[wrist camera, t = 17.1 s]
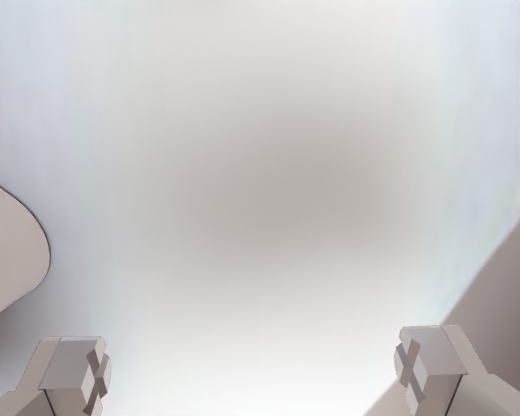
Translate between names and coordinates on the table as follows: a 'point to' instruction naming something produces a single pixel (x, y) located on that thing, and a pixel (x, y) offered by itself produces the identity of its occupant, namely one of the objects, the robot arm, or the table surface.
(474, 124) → the table surface
